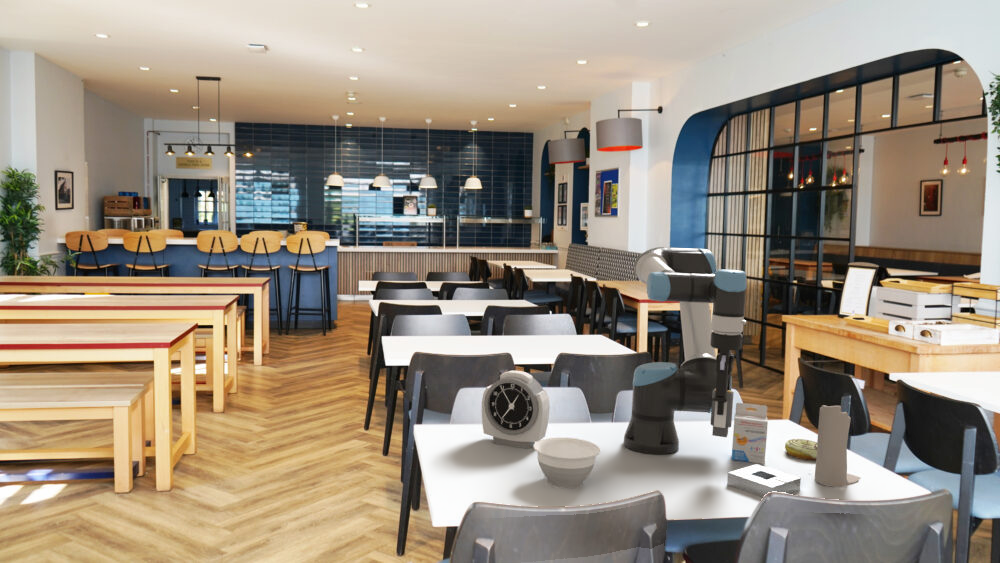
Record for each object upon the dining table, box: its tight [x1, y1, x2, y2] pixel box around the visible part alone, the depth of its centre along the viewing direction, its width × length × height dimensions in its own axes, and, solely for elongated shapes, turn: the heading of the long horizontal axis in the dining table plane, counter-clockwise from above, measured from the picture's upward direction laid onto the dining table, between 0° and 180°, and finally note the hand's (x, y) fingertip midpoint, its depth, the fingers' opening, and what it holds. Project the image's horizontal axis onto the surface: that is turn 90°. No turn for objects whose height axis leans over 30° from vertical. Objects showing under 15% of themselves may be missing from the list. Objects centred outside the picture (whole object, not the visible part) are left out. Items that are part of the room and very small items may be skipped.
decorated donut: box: [784, 438, 817, 461], centre depth 211 cm, size 10×11×4 cm
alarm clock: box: [481, 370, 550, 450], centre depth 211 cm, size 18×8×20 cm, turn 68°
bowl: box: [532, 437, 601, 489], centre depth 182 cm, size 16×16×8 cm
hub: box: [726, 463, 802, 498], centre depth 184 cm, size 12×12×3 cm
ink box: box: [731, 402, 769, 465], centre depth 205 cm, size 8×5×15 cm, turn 73°
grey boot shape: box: [814, 404, 861, 488], centre depth 191 cm, size 7×14×20 cm, turn 123°
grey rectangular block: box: [710, 389, 734, 438], centre depth 191 cm, size 5×5×11 cm
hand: (720, 423), depth 191 cm, fingers closed on grey rectangular block, 5 cm apart
